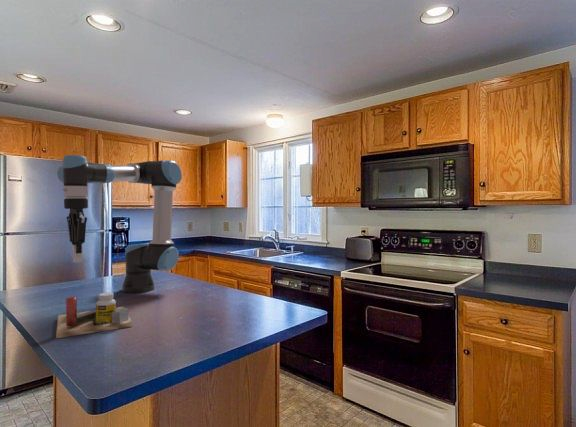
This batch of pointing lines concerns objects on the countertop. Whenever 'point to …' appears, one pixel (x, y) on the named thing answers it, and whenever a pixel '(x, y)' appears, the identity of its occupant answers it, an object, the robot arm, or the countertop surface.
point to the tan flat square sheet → (85, 326)
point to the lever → (72, 313)
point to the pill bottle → (105, 308)
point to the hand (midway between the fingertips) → (77, 261)
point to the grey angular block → (120, 316)
